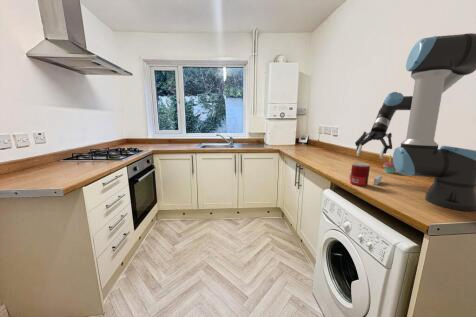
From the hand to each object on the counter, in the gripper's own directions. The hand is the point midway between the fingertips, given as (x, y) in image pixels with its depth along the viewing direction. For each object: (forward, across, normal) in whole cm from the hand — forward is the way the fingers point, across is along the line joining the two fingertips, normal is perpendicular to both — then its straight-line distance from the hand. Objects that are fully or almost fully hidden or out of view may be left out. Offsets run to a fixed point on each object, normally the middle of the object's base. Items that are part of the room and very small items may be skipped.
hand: (368, 155), depth 112 cm
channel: (+10, 0, -10) cm, 14 cm away
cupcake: (-14, -5, -34) cm, 37 cm away
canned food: (+18, 0, -2) cm, 18 cm away
